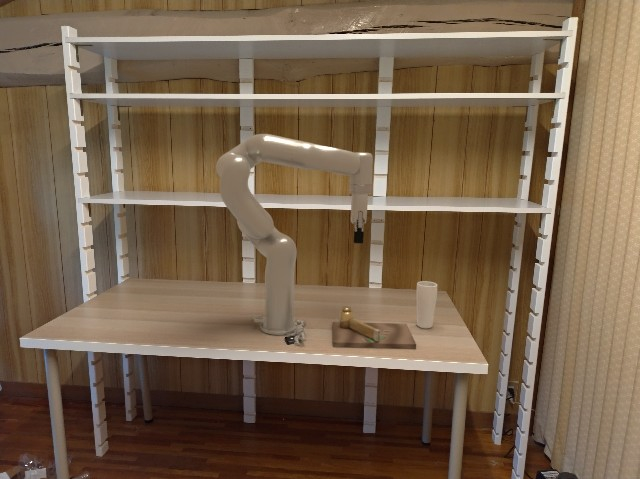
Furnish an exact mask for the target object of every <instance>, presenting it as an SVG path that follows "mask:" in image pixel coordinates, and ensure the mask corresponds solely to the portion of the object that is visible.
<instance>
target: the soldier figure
mask: <svg viewBox="0 0 640 479" xmlns="http://www.w3.org/2000/svg"><path fill="white" fill-rule="evenodd" d="M295 321H296V322H297V324H298V326H297V328H296V329H295V332H293V333H290V334H286V337H287V338H289V337H293V338H294V342H293V344H294V345H295V346H301V344H300V341H299V340H301V341H303V342H306V341H307V339H306V338H305V336H306V333H305V330H304V329H305V328H306V327H307V326H308V324H307V321H305V320H298V319H297V320H295Z"/></svg>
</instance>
